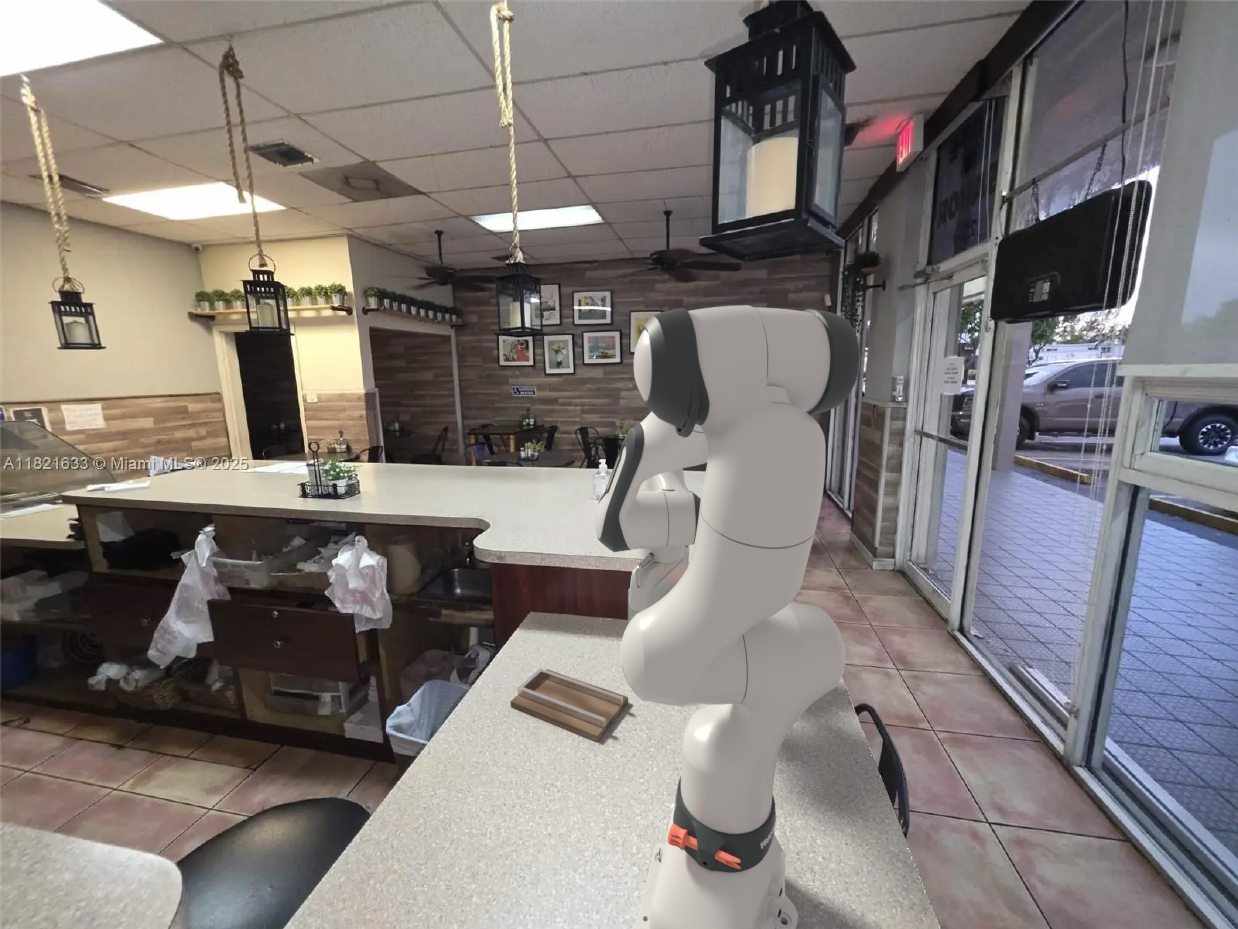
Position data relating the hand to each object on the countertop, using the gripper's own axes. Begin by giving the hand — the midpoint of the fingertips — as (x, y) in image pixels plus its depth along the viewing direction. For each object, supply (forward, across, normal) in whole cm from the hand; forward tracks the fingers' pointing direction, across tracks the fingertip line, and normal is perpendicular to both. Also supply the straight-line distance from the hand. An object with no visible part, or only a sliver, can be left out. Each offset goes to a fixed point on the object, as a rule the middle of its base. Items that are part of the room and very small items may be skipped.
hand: (660, 613), depth 96 cm
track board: (+19, -10, +15) cm, 26 cm away
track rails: (+18, -10, +15) cm, 25 cm away
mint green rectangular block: (+4, 0, 0) cm, 4 cm away
